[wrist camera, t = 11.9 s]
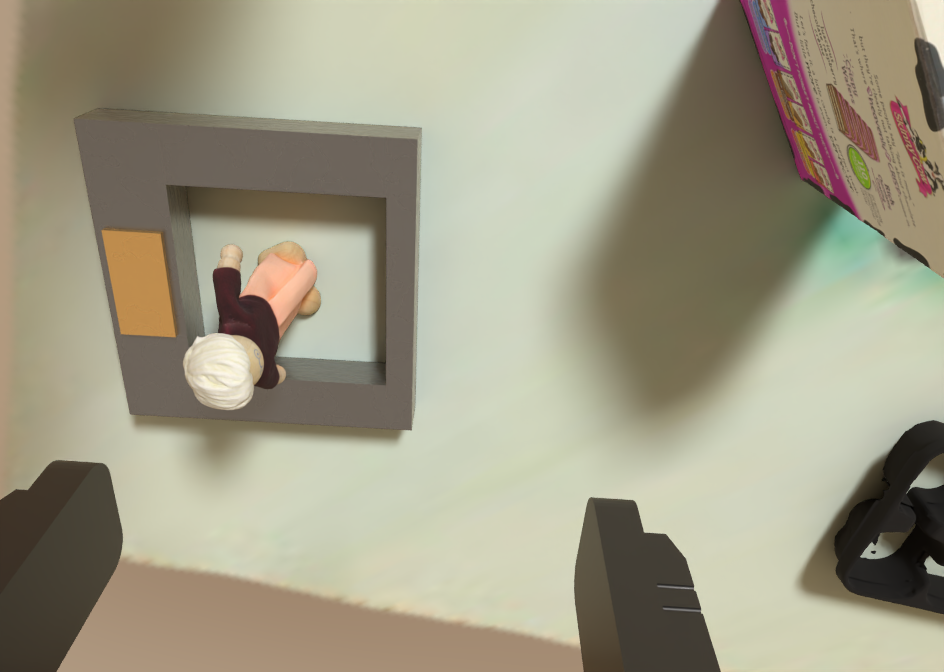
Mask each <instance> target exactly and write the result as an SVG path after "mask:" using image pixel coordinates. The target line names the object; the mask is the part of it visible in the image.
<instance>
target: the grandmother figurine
mask: <svg viewBox="0 0 944 672" xmlns="http://www.w3.org/2000/svg"><path fill="white" fill-rule="evenodd" d="M220 256H221V260H220V261H219V263H218V266H217V269H215V270H214V271H213V283H214V289H215V294H216V303H217V308H218V312H219V315H220V317H219V329H218V333H213V334H209V335H207V336H205V337H198V336H197V337H196V339H195V341H194V343H193V345H192V346H191V347H190V348H189V349H188V350H187V352H186V354H185V357H184V360H183V367H184V370H185V378H186V380H187V382H188V384H189V385H190V387H191V388H192V389H193V391H194V394H195V396H196V398H197V399H198V400H199V401H200V402H201V403H202V404H204V405H206V406H208V407H211V408H215V409H221V410H235V409H240V408H242V407H244V406H245V405H246V404H247V403H248V402H249V401H250V400H251V399H252V396H253V391H254V386H256V387H260V388H263V389H273V388H274V387H275V386H276V385H277V384H280V383H282V382H283V381H284V380H285V377H286V371H285V369H284V368H283V367H282V366H279V365H276V363H275V360H274V357H275V355H276V352H277V349H278V343H279V341H280V339H281V337H282V335H283V334H284V332H285V330H286V329H287V328H288V326H289V325H290V323H291V322H292V321H293V319H294V318H295V316H296V315H297V314H301V315H310V314H313V313H315V312H316V311H317V310H318V309H319V307H320V305H321V297H320V293H319V291H318V290H317V289H316V288H315V287H314V286H313V285H314V283H315V281H316V278H317V269H316V267H315V265H314V263H313V262H312V261H311V260H308V259H307V258H306V255H305V252H304V250H303V249H302V248H301V247H300V246H299V245H298V244H296V243H294V242H283V243H280V244H278V245H276V246H274V247H271V248H269V249H267V250H265V251H263V252H262V253H261V254H260V255H259V257H258V266H257V267H256V269H255V270H254V272H253V274H252V275H251V277H250V278H249V281H248V284H247V286H246V288H245V289H244V290H243V292H242V293H241V294H240V292H241V274H240V262H241V261H242V257H243V252H242V250H241V249H240V248H239V247H238V246H236V245H233V244H229V245H226V246H225V247H223V248H222V250H221V255H220Z"/></svg>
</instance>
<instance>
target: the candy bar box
mask: <svg viewBox="0 0 944 672" xmlns="http://www.w3.org/2000/svg"><path fill="white" fill-rule="evenodd" d="M740 2H741V5H742V8H743V10H744V13H745V16H746V19H747V22H748V25H749V28H750V31H751V34H752V37H753V40H754V43H755V46H756V48H757V51H758V54H759V57H760V60H761V63H762V66H763V69H764V72H765V74H766V77H767V80H768V83H769V86H770V89H771V92H772V95H773V98H774V101H775V104H776V107H777V109H778V113H779V116H780V119H781V122H782V125H783V128H784V130H785V133H786V136H787V139H788V142H789V145H790V148H791V151H792V154H793V157H794V160H795V163H796V166H797V169H798V172H799V175H800V178H801V180H803V181H805V182H807V183H808V184H810V185H811V186H813V187H814V188H815V189H817V190H818V191H819V192H821V193H822V194H824V195H825V196H826V197H828V198H829V199H831V200H832V201H834V202H835V203H837V204H838V205H840V206H841V207H843V208H844V209H845V210H847V211H848V212H850V213H851V214H853V215H854V216H856V217H857V218H858V219H859V220H861V221H862V222H864V223H865V224H867V225H869V226H870V227H871V228H873V229H874V230H876V231H878V232H879V233H880V234H881V235H883V236H884V237H885V238H886V239H888V240H890V241H891V242H892V243H894V244H895V245H897V246H898V247H899V248H901V249H903V250H904V251H905V252H907V253H908V254H910V255H911V256H912V257H914V258H916V259H917V260H918V261H920V262H922V263H923V264H924V265H925V266H927V267H928V268H930V269H931V270H932V271H934V272H935V273H937V274H938V275H940V276H941V277H943V278H944V0H740Z"/></svg>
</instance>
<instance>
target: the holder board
mask: <svg viewBox="0 0 944 672" xmlns="http://www.w3.org/2000/svg"><path fill="white" fill-rule="evenodd" d="M74 124H75V129H76V134H77V139H78V144H79V150H80V155H81V160H82V165H83V171H84V176H85V181H86V186H87V192H88V197H89V202H90V207H91V212H92V218H93V223H94V228H95V233H96V239H97V244H98V249H99V254H100V259H101V265H102V270H103V275H104V280H105V286H106V291H107V296H108V301H109V307H110V312H111V317H112V322H113V327H114V333H115V338H116V343H117V348H118V354H119V359H120V364H121V369H122V375H123V380H124V385H125V390H126V395H127V401H128V406H129V411H130V414H134V415H151V416H169V417H187V418H204V419H222V420H240V421H257V422H275V423H293V424H310V425H328V426H346V427H363V428H381V429H399V430H412V424H413V418H414V411H415V395H416V352H417V309H418V267H419V224H420V181H421V138H422V128H416V127H400V126H383V125H366V124H350V123H333V122H317V121H300V120H284V119H267V118H250V117H234V116H217V115H201V114H184V113H167V112H151V111H134V110H118V109H101V108H97V109H95V110H93V111H90V112H88V113H85V114H83V115H81V116H78V117H76V118H74ZM186 186H195V187H212V188H229V189H246V190H263V191H280V192H296V193H313V194H330V195H347V196H364V197H381V198H386V363H376V362H359V361H342V360H324V359H307V358H289V357H274V360H275V363H276V365H279V366H282V367H283V368H284V369H285V371H286V377H285V380H284V381H283V382H282V383H280V384H277V385H276V386H275V387H274V388H273V389H263V388H260V387H256V386H254V391H253V396H252V399H251V400H250V401H249V402H248V403H247V404H246V405H245V406H244V407H242V408H240V409H235V410H221V409H215V408H211V407H208V406H206V405H204V404H202V403H201V402H200V401H199V400H198V399H197V398H196V396H195V394H194V391H193V389H192V388H191V387H190V385H189V384H188V382H187V380H186V378H185V370H184V367H183V360H184V357H185V354H186V352H187V350H188V349H189V348H190V347H191V346H192V345H193V343H194V341H195V339H196V337H197V336H198V337H205V333H204V325H203V317H202V309H201V301H200V293H199V286H198V278H197V270H196V262H195V254H194V246H193V239H192V231H191V223H190V215H189V207H188V199H187V191H186Z"/></svg>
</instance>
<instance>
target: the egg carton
mask: <svg viewBox="0 0 944 672" xmlns="http://www.w3.org/2000/svg"><path fill="white" fill-rule="evenodd" d="M942 453H944V423H941V422H938V421H934V420H932V421H927V422H923V423H920V424H917V425H915V426H914V427H912V428H911V429H909V430H908V431H906V432H905V434H903V436H902V437H901V438H900V440H899V441H898V443H897V444H896V445H895V446H894V448H893V449H892V451H891V452H890V454H889V456H888V458H887V459H886V462H885V466H884V468H883V470H884V472H883V473H884V476H885V478H886V479H887V481H888V482H887V481H886V480H884V479H882V481H885V482H886V483H887V485H888V486H889V489H888V490H886V491H885V490H883V491H884V497H883V498H882V499H881V500H878V499H869V500H865V501H863V502H861V503H859V504H857V505H856V506H855V507H854V508H853V509H852V511H851V512H850V514H849V517H848V520H847V522H846V524H845V526H843V528H841V530H840V531H839V532H838V533H837V535H836V536H835V553H836V556H837V558H838V560H839V561H838V563H837V566H836V574H837V576H838V578H839V579H840V580H841V582H842V583H843V585H844V586H845V587H846V589H847V590H849V591H850V592H852V593H855V594H857V595H861V596H865V597H870V598H874V599H878V600H883V601H888V602H892V603H897V604H902V605H906V606H910V607H915V608H919V609H924V610H928V611H932V612H936V613H941V614H944V577H942V576H937V575H932V574H928V573H927V571H926V570H927V568H926V567H925V565H924V562H925V560H926V559H927V557H928V556H929V555H930V556H931V557H932V559H933V560H934V561H935V562H936V563H937V564H939V565H941V566H944V485H942V486H940V487H937V488H932V489H924V488H919V487H914V488H911V489H910V490H909V488H910V485H911V484H912V483H913V481H914V480H915V479H916V478H917V477H918V475H919V474H920V473H921V472H922V470H923V469H924V468H925V467H926V465H927V464H928V463H929V461H931V460H932V459H933V458H934V457H936V456H938V455H939V454H942ZM908 490H909V491H908ZM907 491H908V493H907ZM906 493H907V494H906ZM914 523H915V524H916V525H915V528H914V529H913V531H912V532H911V533H910V535H909V536H908V538H907V539H906V540H905V542H904V543H903V544H902V546H901V547H900V548H899V549H898V550H897V551H896V552H895V553H894V554H892V555H890V556H888V557H885V558H880V559H867V558H861V557H860V556H861V555H862V553H863V552H864V550H865V549H866V548H867V547H868V546H869V544H870V543H871V542H873V544H874V545H876V543H877V541H878V537H879V535H880V533H883V532H908V531H909V530H910V528H911V527H912V526H913V524H914ZM871 553H873V554H875V553H876V551H871Z"/></svg>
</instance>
